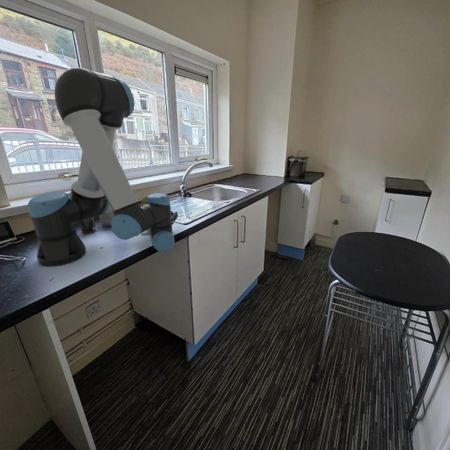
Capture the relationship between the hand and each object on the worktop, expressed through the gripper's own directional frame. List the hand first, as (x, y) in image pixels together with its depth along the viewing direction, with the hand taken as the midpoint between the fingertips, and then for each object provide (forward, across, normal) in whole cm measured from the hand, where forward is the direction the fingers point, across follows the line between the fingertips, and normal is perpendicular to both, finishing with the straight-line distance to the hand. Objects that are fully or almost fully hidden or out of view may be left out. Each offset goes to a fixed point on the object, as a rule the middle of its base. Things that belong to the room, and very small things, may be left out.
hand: (153, 212), depth 113 cm
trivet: (+3, 0, -8) cm, 9 cm away
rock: (+26, -3, -9) cm, 27 cm away
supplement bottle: (+7, -29, -9) cm, 31 cm away
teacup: (+15, -18, -9) cm, 25 cm away
